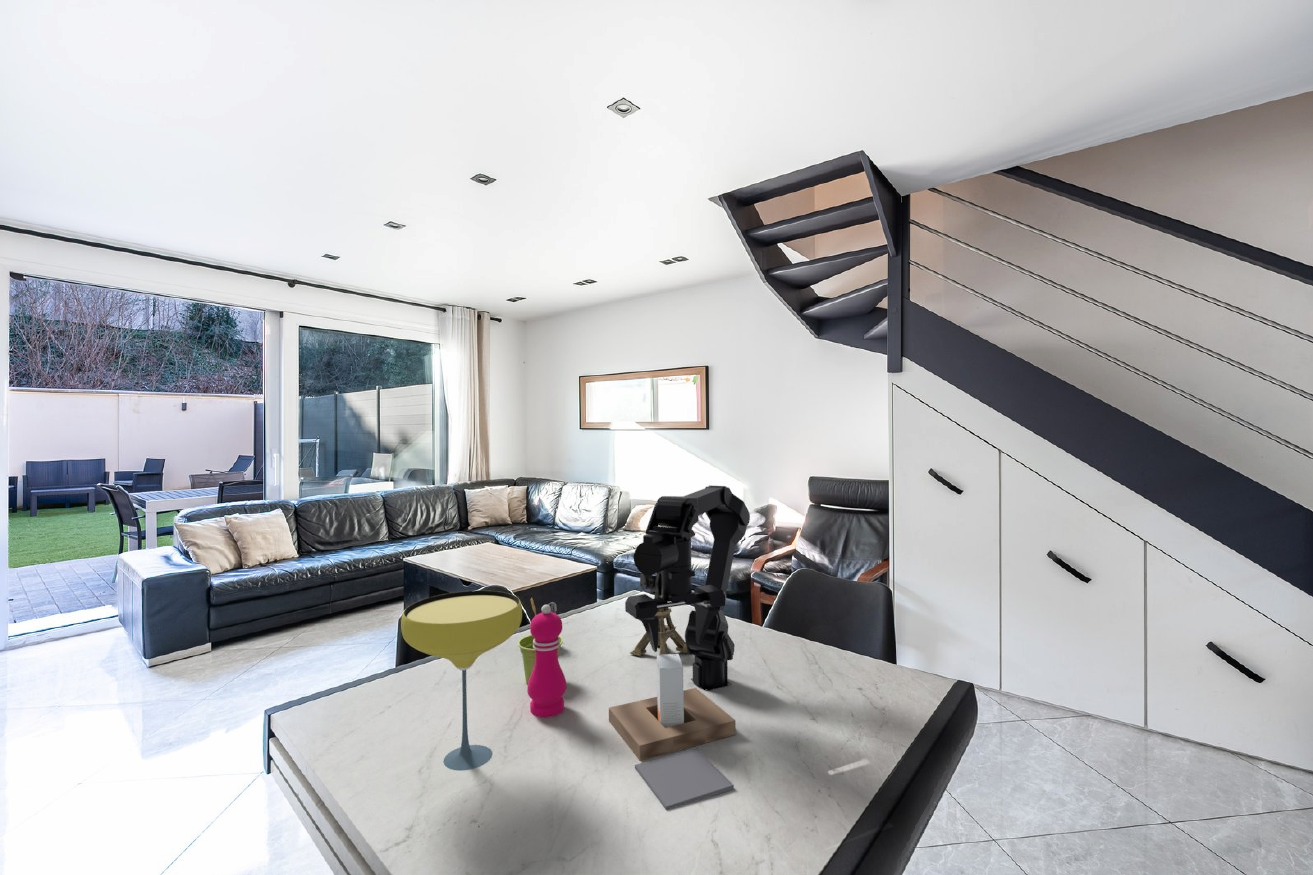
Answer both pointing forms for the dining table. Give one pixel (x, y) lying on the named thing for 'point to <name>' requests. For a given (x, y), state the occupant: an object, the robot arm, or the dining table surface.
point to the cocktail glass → (462, 643)
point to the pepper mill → (546, 666)
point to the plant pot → (530, 654)
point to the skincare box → (670, 690)
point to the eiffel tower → (662, 634)
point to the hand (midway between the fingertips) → (677, 646)
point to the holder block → (656, 740)
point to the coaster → (683, 778)
